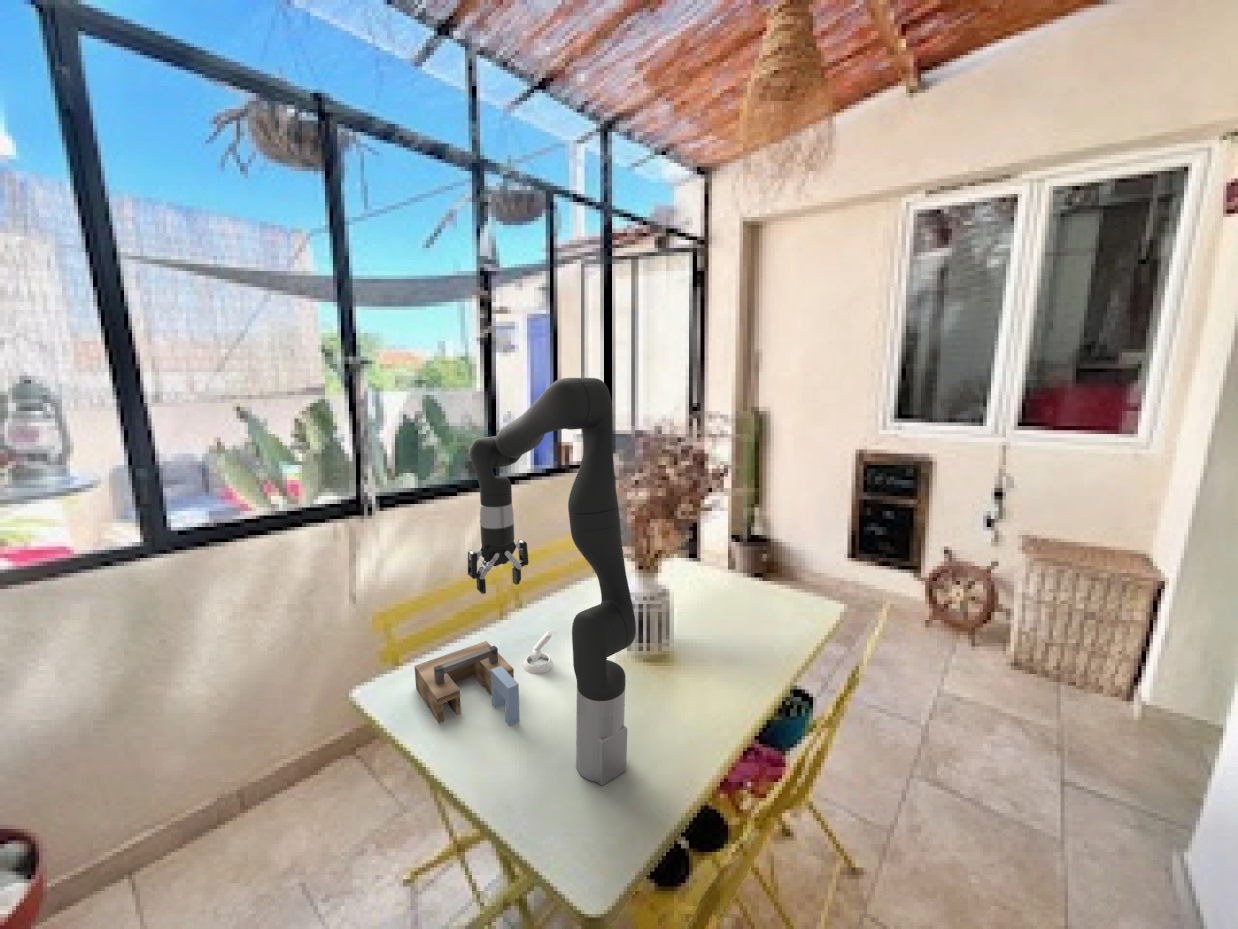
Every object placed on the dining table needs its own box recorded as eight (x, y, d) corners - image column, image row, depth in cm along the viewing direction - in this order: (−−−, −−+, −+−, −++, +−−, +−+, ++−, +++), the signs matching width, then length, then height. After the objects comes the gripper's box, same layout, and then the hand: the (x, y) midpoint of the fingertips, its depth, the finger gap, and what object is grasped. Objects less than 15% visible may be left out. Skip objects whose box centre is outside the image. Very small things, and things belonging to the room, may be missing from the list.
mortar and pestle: (569, 656, 126) (546, 645, 123) (542, 686, 129) (519, 676, 127) (569, 635, 132) (547, 623, 130) (543, 664, 136) (521, 653, 133)
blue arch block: (519, 720, 110) (518, 684, 108) (508, 725, 109) (508, 688, 107) (501, 700, 117) (501, 665, 115) (491, 705, 115) (490, 669, 113)
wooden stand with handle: (513, 691, 120) (513, 655, 118) (438, 723, 109) (436, 684, 107) (486, 661, 131) (485, 628, 129) (416, 688, 120) (413, 652, 118)
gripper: (474, 532, 109) (477, 602, 112) (532, 520, 118) (534, 585, 121) (460, 524, 115) (464, 590, 118) (517, 513, 123) (519, 575, 126)
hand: (499, 588), depth 119 cm, fingers open, 8 cm apart
